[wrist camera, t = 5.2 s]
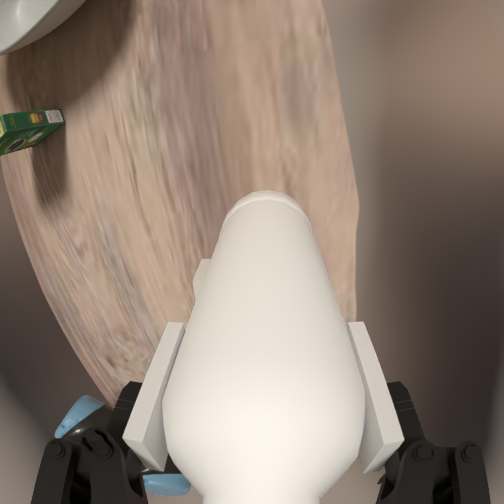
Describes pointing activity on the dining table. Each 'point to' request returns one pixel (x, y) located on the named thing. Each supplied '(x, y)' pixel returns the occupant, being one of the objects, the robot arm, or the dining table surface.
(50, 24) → the decorative bowl
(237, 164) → the dining table surface
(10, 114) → the coffee box
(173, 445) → the bottle
